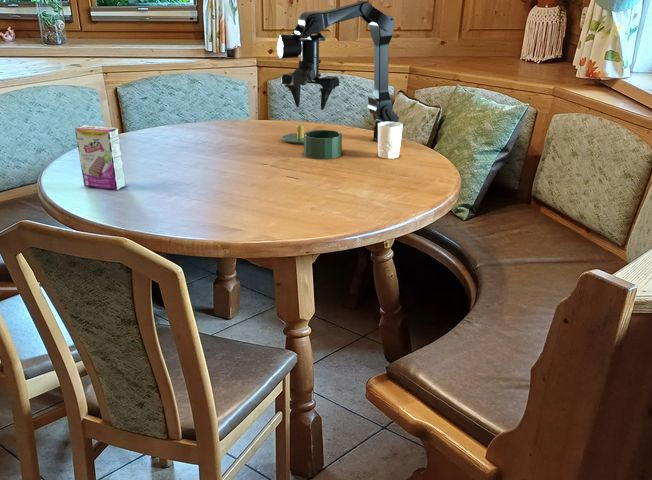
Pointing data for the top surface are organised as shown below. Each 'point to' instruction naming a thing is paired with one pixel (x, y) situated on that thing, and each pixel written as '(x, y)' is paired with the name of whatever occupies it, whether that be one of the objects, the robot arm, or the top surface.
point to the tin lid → (295, 136)
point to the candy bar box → (100, 157)
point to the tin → (322, 144)
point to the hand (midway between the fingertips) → (310, 108)
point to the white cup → (389, 139)
